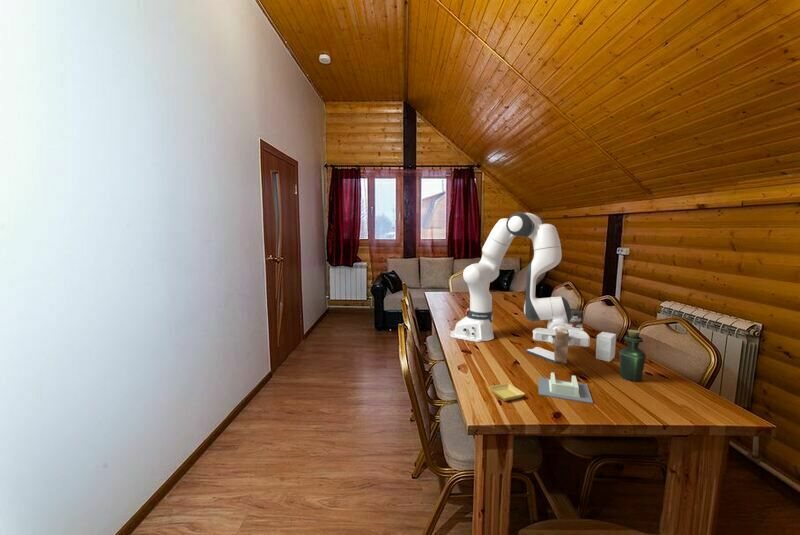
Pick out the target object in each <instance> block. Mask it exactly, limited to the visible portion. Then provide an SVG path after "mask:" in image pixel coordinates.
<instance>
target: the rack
mask: <svg viewBox="0 0 800 535" xmlns="http://www.w3.org/2000/svg"><path fill="white" fill-rule="evenodd" d="M555 374H556V373H555V372H553V371H552V372H550V378H549V379H550V380H549V389H550V393H554V394H560V395H566V396H572V397H578V398H580V394H579V387H578V383H579V382H578V379H577V376H576V375H571V380H570V381H568V382H562V381H563V380H561V381H555V380H556V376H555ZM569 382H571V383H569Z"/></svg>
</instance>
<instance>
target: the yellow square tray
mask: <svg viewBox="0 0 800 535" xmlns="http://www.w3.org/2000/svg"><path fill="white" fill-rule="evenodd" d="M488 389H489V390H490V391H491V393H493V394H494V395H495V396H496V397H498V398H500V399H501V400H502V401H504V402H507V401H513V400H516V399H520V398H523V397H524V396H525V395H526V393H525V391H524V392H523V391H522V390H520V389H519V388H517V387H516V386H514V385H513V384H511V383H508V382H507V383H500V384H496V385H495V384H494V385H489V386H488Z"/></svg>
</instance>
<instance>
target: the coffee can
mask: <svg viewBox="0 0 800 535" xmlns="http://www.w3.org/2000/svg"><path fill="white" fill-rule="evenodd" d="M570 309H571V320H570V322H569V323H568V324H569V325H572V326H576V327H580V328H583V322H584V321H583V320H584V311H583V310H581V309H577V308H570Z"/></svg>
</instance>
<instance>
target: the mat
mask: <svg viewBox="0 0 800 535" xmlns="http://www.w3.org/2000/svg"><path fill="white" fill-rule="evenodd" d="M537 380H538V395H539V396H544V397H551V398H556V399H562V400H569V401H575V402H578V403H579V402H580V403H586V404H594V401H593V398H592V395H591V393H590V389H589V386H588V384H587V383H581V382H577V383H578V387H579V394H580V398H578V397H572V396H566V395H560V394H554V393H550V389H549V380H550V378H547V377H539V376H538V379H537ZM555 381H562V382H569V383H571V381H568V380H567V381H566V380H559V379H555Z"/></svg>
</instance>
